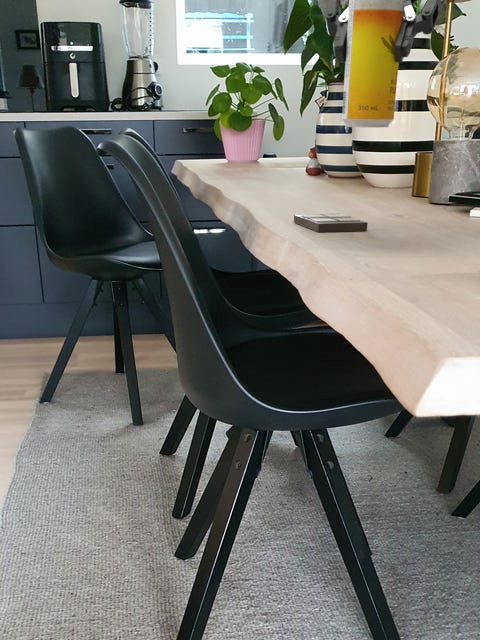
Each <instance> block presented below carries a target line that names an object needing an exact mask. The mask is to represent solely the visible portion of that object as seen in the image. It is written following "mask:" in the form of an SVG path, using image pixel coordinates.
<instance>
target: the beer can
mask: <svg viewBox="0 0 480 640" xmlns="http://www.w3.org/2000/svg"><path fill="white" fill-rule="evenodd" d="M348 6H349V11H348V27H347V44H346V60H345V62H344V64H345V65H344V77H343V78H344V80H343V96H342V113H341V114H342V115H341V120H342V121H343V122H344V123H345V127H346V128H368V129H369V128H372V129H373V128H375V129H376V128H377V129H379V128H389V127H390V124H391V123H392V122H393V121H394V118H395V110H396V109H395V108H396V98H397V97H396V96H397V87H398V75H399V64H400V62H396V61H395V44H396V40H397V36H398V32H399V29H400V26H401V23H402V17H403V6H404V0H348Z"/></svg>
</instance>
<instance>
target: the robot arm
mask: <svg viewBox="0 0 480 640" xmlns="http://www.w3.org/2000/svg"><path fill="white" fill-rule="evenodd" d="M418 1H419V0H404V6H403V17H402V23H401V26H400V29H399V32H398V36H397V40H396V44H395V61H396V62H399V63H403V61H404V58H408V57H409V55H410V54H411V50H412V46H413V42H414V40H415V38H416V36H417V35H418V34H420V33H422V34H424V35H430V34H432V33H433V31H434V30H435V27H436V25H437V22H438V21H439V18H440V16H441V13H442V11H443V8H444V6H445V4H446V2H447V0H426V1H425V3H424V5H423V8H422V10H421V12H420V13H416V12H415V11H414V6H413V5H415V4H416V3H417V2H418ZM346 3H348V0H326V4H325V10H324V17H325V23H326V29H327V34H328V35H329V36H330V37H332V36H333V37H334V38H333V42H332V47H333V53H334V58H335V59H336V58H337V63H345V61H346V44H347V27H348V11H349V5H348V6H347V8H346V9H345V10H344V11H343V12H342V13H341V11H342V9H344V8H345V7H346Z"/></svg>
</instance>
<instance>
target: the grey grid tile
mask: <svg viewBox="0 0 480 640" xmlns="http://www.w3.org/2000/svg"><path fill="white" fill-rule="evenodd" d="M293 223H294V224H296V225H299V226H302V227H304V228H307V229H309V230H311V231H314V232H317V233H345V232H348V233H349V232H367V231H368V222H367V221H364V220H362V219H358V218H355V217H352V216H349V215H346V214H343V213H305V214H304V213H303V214H301V213H299V214H293Z"/></svg>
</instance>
